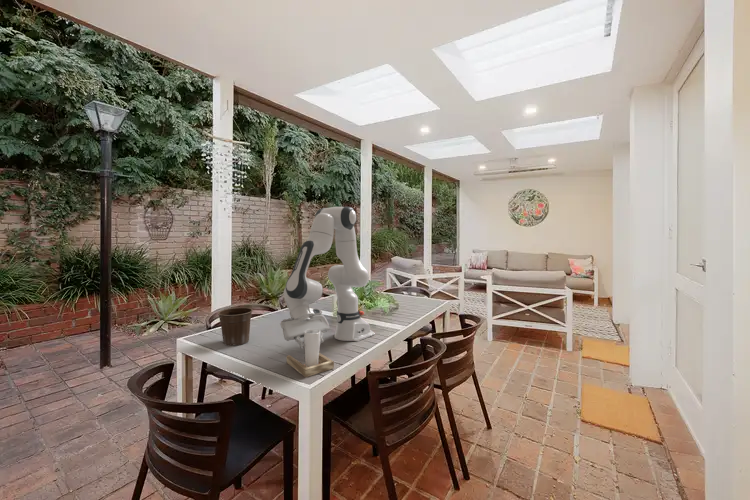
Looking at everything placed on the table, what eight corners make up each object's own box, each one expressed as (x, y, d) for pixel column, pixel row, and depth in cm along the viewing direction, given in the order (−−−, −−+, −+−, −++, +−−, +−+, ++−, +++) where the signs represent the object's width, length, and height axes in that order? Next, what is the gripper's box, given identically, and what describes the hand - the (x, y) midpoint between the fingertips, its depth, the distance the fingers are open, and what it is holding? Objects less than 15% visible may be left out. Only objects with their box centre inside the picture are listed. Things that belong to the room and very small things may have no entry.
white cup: (300, 368, 130) (300, 332, 129) (308, 361, 136) (309, 327, 135) (314, 371, 128) (315, 334, 127) (322, 364, 134) (323, 329, 133)
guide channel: (313, 355, 145) (313, 349, 145) (333, 368, 132) (333, 361, 132) (286, 362, 137) (286, 355, 137) (305, 377, 123) (305, 369, 123)
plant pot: (210, 344, 157) (210, 313, 156) (236, 335, 172) (235, 306, 171) (235, 349, 151) (235, 316, 150) (259, 339, 166) (259, 309, 165)
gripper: (281, 316, 130) (291, 346, 123) (324, 309, 144) (335, 335, 137) (277, 324, 134) (286, 353, 127) (319, 316, 147) (330, 343, 140)
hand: (312, 344), depth 132 cm, fingers open, 7 cm apart
